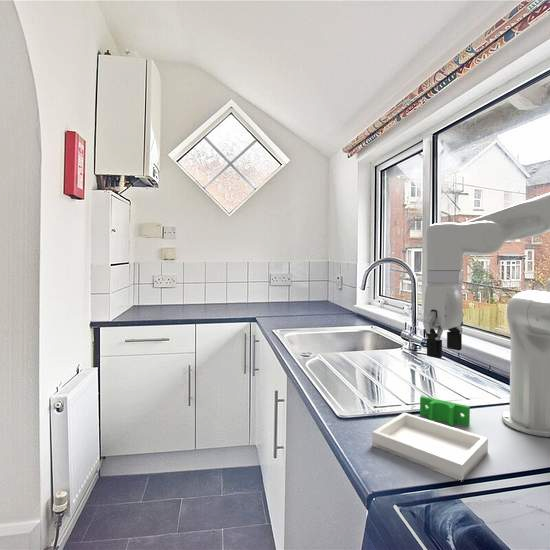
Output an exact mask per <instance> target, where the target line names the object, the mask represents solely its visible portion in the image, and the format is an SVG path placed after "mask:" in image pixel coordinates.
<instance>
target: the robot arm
mask: <svg viewBox="0 0 550 550" xmlns="http://www.w3.org/2000/svg"><path fill="white" fill-rule="evenodd" d="M548 233H550V192H548V193H545V194H543V195H540V196H539V195H538V196H535V197H534V198H531V199H528V200H526V201H525V200H524V201H522V202H519V203H517V204H513V205H511V206H508V207H505V208H503V209H499V210H497V211H493V212H490V213H487V214H485V215H484V214H483V215H481V216H479V217H476V218H473V219H470V220H467V221H465V222H461V223H458V222H440V223H433V224H430V225H429V226H428V227H427V229H426V288H425V293H424V301H423V302H424V303H423V304H424V305H423V322H422V324H423V328H424V331H423V332H424V334H425V339H426V356H427V357H429V358H434V359H442V358H443V340H442V339H441V337H442V334H443V332H444V331H447V332H446V348H447V349H448V350H449V349H450V350H452V351H453V350H454V351H462V348H463V347H462V345H463V342H462V341H463V340H462V339H463V338H462V337H463V336H462V333H463V328H462V327H463V324H464V321H463V320H464V319H463V318H464V315H465V313H464V312H463V310H464V309H463V295H462V293H463V292H462V286H463V285H464V256H487V255H491V254H494V253H496V252H498V251H499V250H500V249H501V248H502V247H503V246H504V245H505V242H509V241H515V240H517V241H518V240H524V239H530V238H531V239H532V238H535V237H539V236H542V235H546V234H548ZM506 319H507V323H508V329H509V336H510V360H509V361H510V363H509V365H510V366H509V367H510V368H509V369H510V371H509V373H510V374H509V409H508V410H506V411H503V412H502V414H501V420H502V421H503V423H504V424H506V426H508V427H509V428H512V429H514V430H516V431H519V432H521V433H526V434H529V435H531V436H536V437H537V436H538V437H544V438H545V437H547V438H550V277H549V278H548V280H547V282H546V291H543V290H542V291H541V290H525V291H520V292H518V293H516V294H515V295H513V296H512V297H511V298H510V300H509V301H508V303H507V307H506ZM436 331H437V332H436Z"/></svg>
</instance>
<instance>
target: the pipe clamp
mask: <svg viewBox="0 0 550 550" xmlns="http://www.w3.org/2000/svg"><path fill="white" fill-rule="evenodd" d="M470 409H471V406H470V405H465V404H461V403H455V402H451V401H446V400H441V399H437V398H433V397H427V396H424V395H423V396H422V395H421V396H420V399H419V414H420V415H421V416H426V417H429V418H428V420H431V421H434V422H435V421H441V422H445V423H447V424H448V426H450V427H453V426H454V425H455V424H459V425H462V426H463V425H464V426H468V427H469V426H470V423H471V422H470V421H471V419H470V417H471V416H470V413H471V412H470V411H471V410H470Z"/></svg>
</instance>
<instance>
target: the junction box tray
mask: <svg viewBox="0 0 550 550" xmlns="http://www.w3.org/2000/svg"><path fill="white" fill-rule="evenodd" d="M371 432H372V434H371V437H372V440H371V441H372V445H371V446H372V447H375V448H377V449H379V450H383V451H384V452H387V453H389V454H392V455H395V456H398V457H400V458H402V459H405V460H407V461H410V462H412V463H414V464H417V465H420V466H422V467H424V468H428V469H429V470H432V471H435V472H437V473H440V474H442V475H445V476H447V477H449V476H450V478H452V477H453V478H452V479H454V478H455V480H457V479H459V480H461V481H460V482H463V481H464V480H465V479H466V478H467V477H468V475H469V474H470V473H471V472H472V471H473V470H474V469H475V467H477V466H478V464H479V463H480V462H481V461H482V460H483V458H484V457H485V456H486V455H488V451H489V449H488V448H489V447H488V446H489V438H488V437H485V436H482V435H479V434H476V433H473V432H470V431H467V430H463V429H459V428H458V427H457V428H456V427H453V426H449V425H447V424H443V423H440V422H437V421H435V420H434V421H431V420H429V419H427V418H424V417H420V416H418V415H413V414H411V413H407V412H402V413H401V414H399V415H397V416H396V417H394V418H392V419H391V420H389V421H388V422H386V423H385V424H383V425H381V426H379V427H378V428H376V429H375V430H373V431H371ZM473 468H474V469H473ZM472 469H473V470H472ZM471 470H472V471H471ZM469 472H470V473H469ZM468 473H469V474H468ZM465 477H466V478H465ZM464 478H465V479H464ZM463 479H464V480H463ZM459 480H458V481H459ZM462 480H463V481H462Z"/></svg>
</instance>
